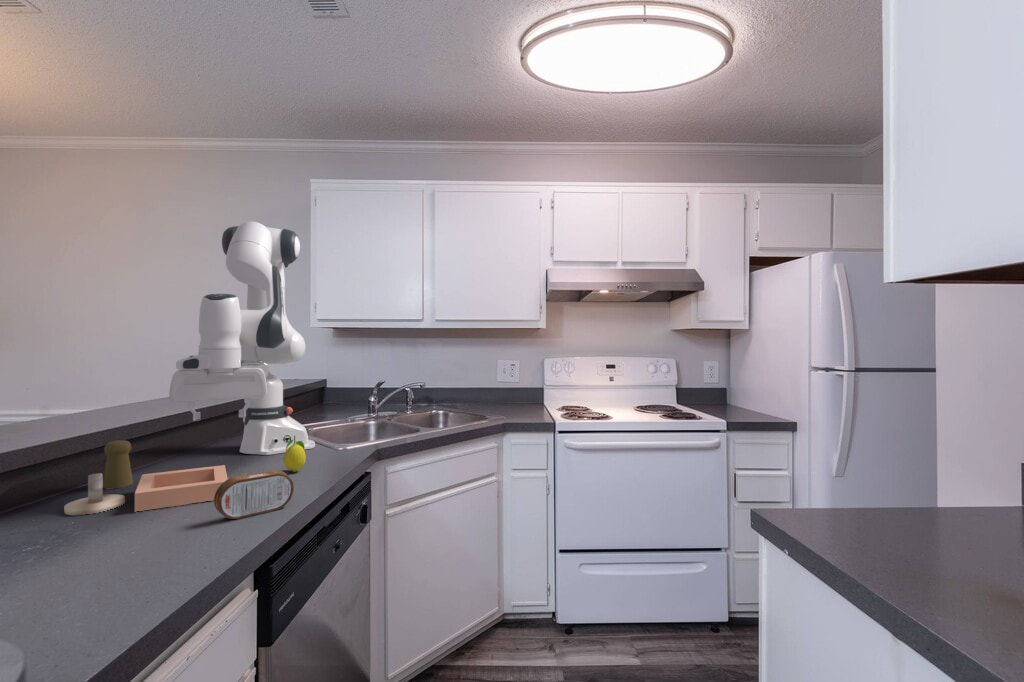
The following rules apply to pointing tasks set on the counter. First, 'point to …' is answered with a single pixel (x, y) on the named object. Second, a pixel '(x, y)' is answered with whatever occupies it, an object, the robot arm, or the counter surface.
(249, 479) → the tin
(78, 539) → the counter surface
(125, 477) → the cork
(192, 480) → the pink square frame
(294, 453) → the lemon
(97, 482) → the mushroom
